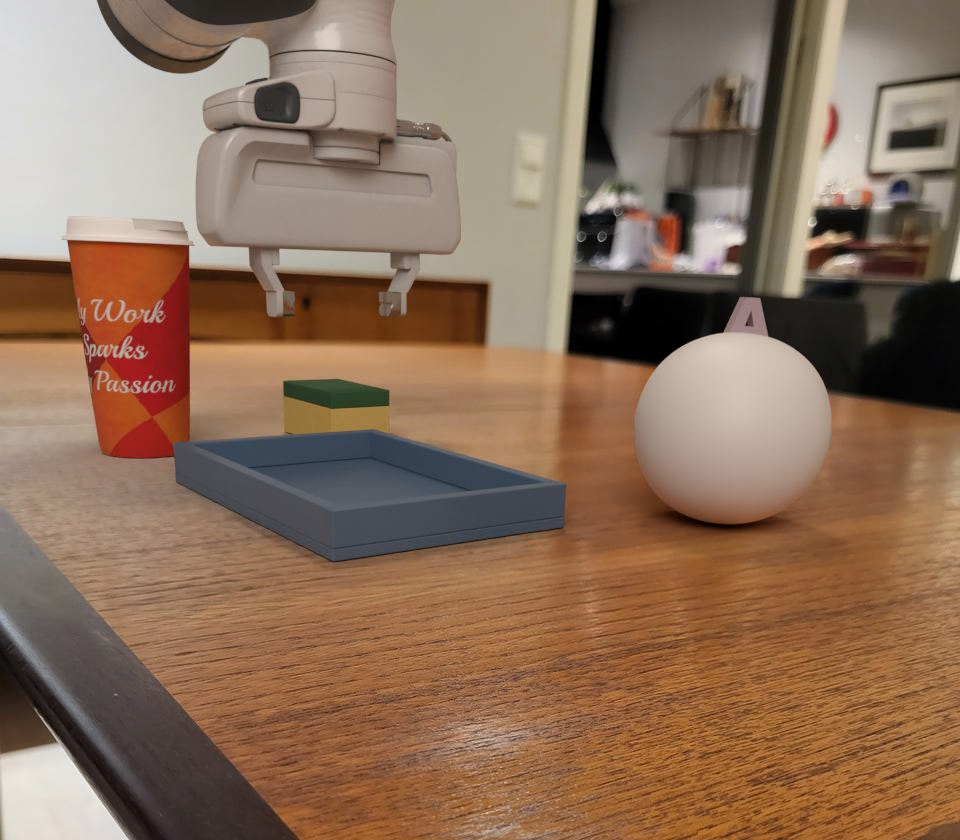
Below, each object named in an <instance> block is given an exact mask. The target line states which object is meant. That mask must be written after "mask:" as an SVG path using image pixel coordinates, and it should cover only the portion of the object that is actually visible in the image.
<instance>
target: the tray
mask: <svg viewBox="0 0 960 840" xmlns="http://www.w3.org/2000/svg"><path fill="white" fill-rule="evenodd" d="M173 447H174V456H173V459H174V471H175V472H174V475H175V476H174V477H175V482H176V483H178V484H179V485H182V486H184V487H186V488H187V489H190V490H192V491H193V492H195V493H197V494H199V495H201V496H204V497H205V498H206V499H209V500H211V501H213V502H214V503H217V504H219V505H221V506H223V507H225V508H227V509H228V510H231V511H233V512H234V513H237V514H239V515H240V516H243V517H244V518H246V519H249V520H250V521H253V522H254V523H256V524H258V525H260V526H262V527H264V528H266V529H268V530H270V531H272V532H274V533H275V534H278V535H280V536H282V537H284V538H286V539H287V540H290V541H292V542H293V543H296V544H297V545H300V546H301V547H304V548H305V549H307V550H309V551H311V552H314V553H315V554H317V555H319V556H321V557H323V558H325V559H327V560H329V561H331V562H340V561H347V560H353V559H361V558H368V557H373V556H374V557H375V556H381V555H387V554H393V553H400V552H408V551H413V550H414V551H415V550H422V549H428V548H435V547H440V546H447V545H448V546H449V545H453V544H462V543H469V542H474V541H482V540H487V539H494V538H500V537H501V538H502V537H507V536H516V535H522V534H528V533H535V532H541V531H550V530H557V529H562V528H564V526H565V525H564V524H565V511H566V510H565V509H566V495H567V483H565V482H561V481H559V480H555V479H551V478H548V477H544V476H540V475H537V474H533V473H529V472H527V471H523V470H519V469H516V468H512V467H510V466H509V467H508V466H505V465H502V464H499V463H495V462H490V461H487V460H484V459H481V458H477V457H473V456H470V455H466V454H464V453H460V452H455V451H453V450H449V449H447V448H446V449H445V448H442V447H439V446H434V445H431V444H428V443H424V442H421V441H417V440H413V439H410V438H407V437H404V436H399V435H396V434H392V433H390V432H389V433H386V432H382V431H378V430H375V429H368V430H353V431H338V432H323V433H308V434H280V435H264V436H250V437H248V436H247V437H233V438H220V439H205V440H190V441H188V442H175V443H173Z"/></svg>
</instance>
